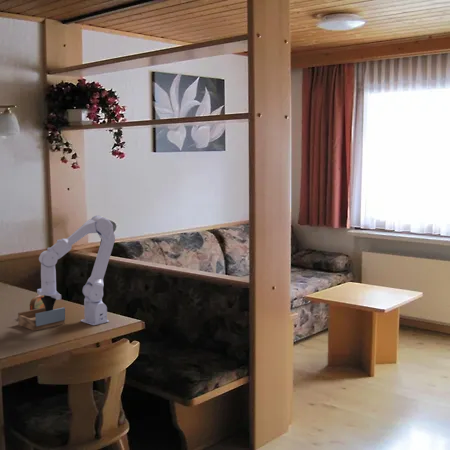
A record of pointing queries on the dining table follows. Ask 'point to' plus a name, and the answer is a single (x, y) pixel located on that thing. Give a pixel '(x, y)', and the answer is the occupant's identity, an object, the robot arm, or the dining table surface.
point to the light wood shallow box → (34, 320)
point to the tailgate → (50, 316)
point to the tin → (36, 303)
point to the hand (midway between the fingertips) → (49, 314)
